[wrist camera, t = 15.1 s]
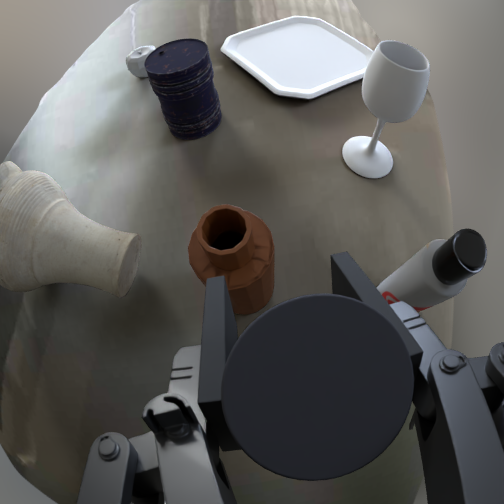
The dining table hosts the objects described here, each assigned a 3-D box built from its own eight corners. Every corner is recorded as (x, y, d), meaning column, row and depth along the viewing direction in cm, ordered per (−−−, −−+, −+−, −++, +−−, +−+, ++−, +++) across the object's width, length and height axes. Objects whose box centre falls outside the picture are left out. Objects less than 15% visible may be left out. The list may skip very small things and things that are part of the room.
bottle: (267, 253, 42) (263, 179, 25) (278, 308, 39) (282, 266, 23) (212, 263, 42) (173, 196, 25) (219, 318, 39) (180, 284, 23)
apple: (151, 59, 61) (144, 38, 54) (171, 67, 58) (164, 45, 52) (125, 78, 59) (116, 57, 53) (143, 87, 57) (134, 65, 50)
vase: (186, 159, 33) (8, 122, 30) (109, 356, 22) (-76, 257, 20) (181, 247, 52) (47, 206, 49) (141, 373, 41) (-1, 311, 39)
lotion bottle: (391, 330, 37) (479, 298, 19) (363, 299, 39) (433, 244, 20) (417, 301, 38) (506, 251, 20) (390, 271, 40) (465, 202, 21)
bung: (326, 324, 17) (391, 274, 7) (342, 404, 15) (425, 447, 6) (243, 341, 17) (205, 313, 7) (258, 422, 15) (240, 495, 6)
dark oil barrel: (232, 109, 52) (222, 42, 38) (202, 147, 49) (181, 79, 35) (189, 97, 54) (171, 35, 40) (157, 131, 51) (130, 69, 37)
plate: (211, 49, 60) (210, 42, 58) (308, 18, 64) (308, 11, 62) (290, 115, 50) (291, 106, 48) (392, 72, 55) (395, 65, 52)
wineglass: (397, 150, 47) (439, 55, 27) (385, 187, 45) (436, 88, 25) (351, 129, 49) (376, 28, 29) (334, 164, 46) (361, 55, 27)
